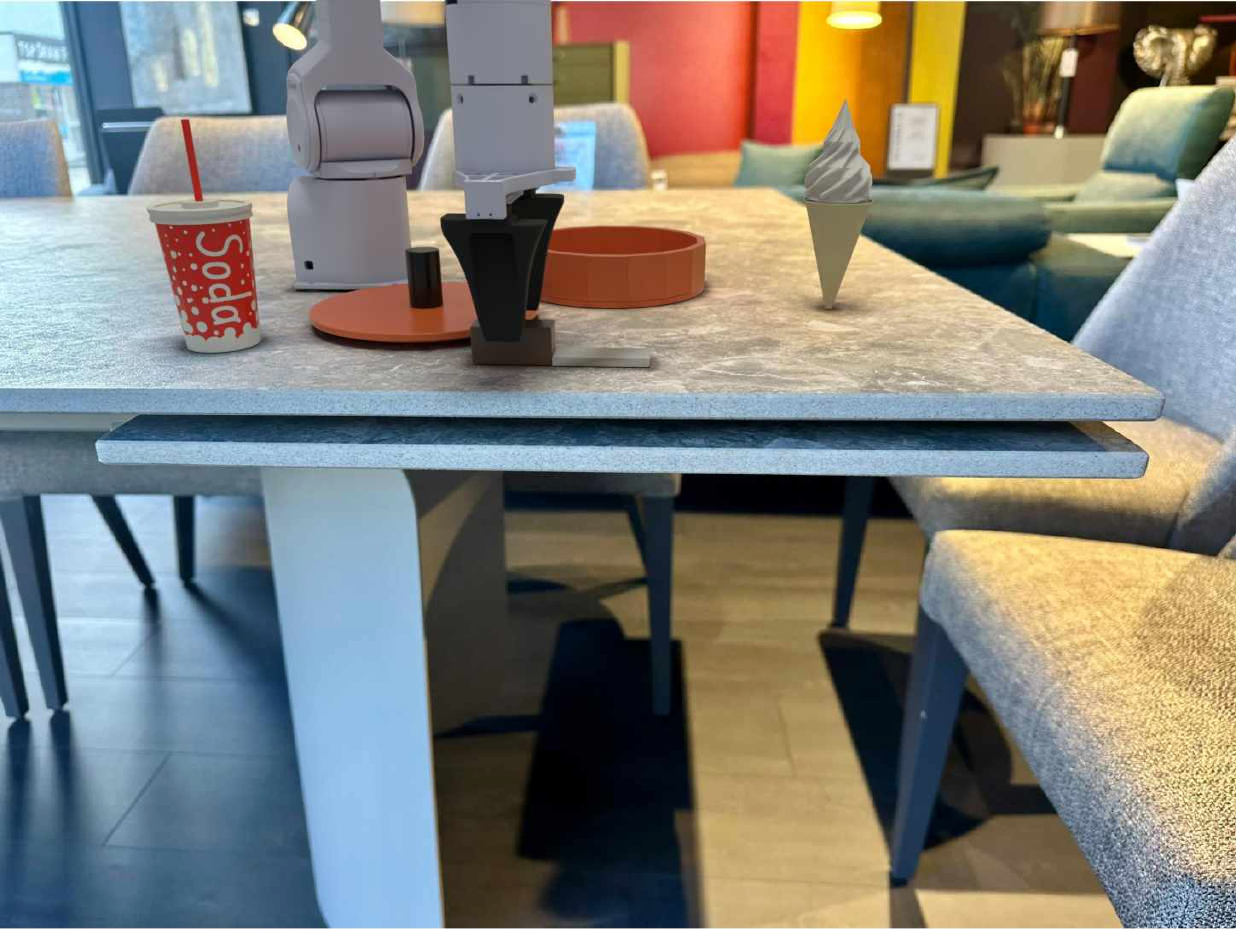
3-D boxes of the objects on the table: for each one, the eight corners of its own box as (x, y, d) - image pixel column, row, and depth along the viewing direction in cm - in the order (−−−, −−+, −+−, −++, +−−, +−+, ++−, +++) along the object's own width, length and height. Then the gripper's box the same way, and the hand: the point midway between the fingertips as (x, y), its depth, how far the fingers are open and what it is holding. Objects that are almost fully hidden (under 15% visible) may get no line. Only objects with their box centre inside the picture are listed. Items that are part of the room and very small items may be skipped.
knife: (471, 364, 56) (469, 326, 55) (478, 355, 58) (476, 318, 57) (649, 367, 55) (650, 329, 55) (650, 357, 58) (650, 320, 57)
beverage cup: (169, 359, 57) (121, 122, 51) (178, 336, 62) (135, 118, 57) (273, 350, 59) (237, 120, 53) (272, 328, 64) (240, 116, 59)
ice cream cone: (782, 304, 71) (797, 98, 65) (837, 299, 73) (856, 97, 67) (817, 318, 67) (836, 99, 61) (875, 313, 68) (899, 99, 62)
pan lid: (273, 349, 59) (262, 270, 57) (353, 294, 74) (345, 230, 72) (522, 352, 59) (519, 273, 57) (552, 296, 74) (550, 232, 72)
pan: (508, 307, 70) (505, 255, 69) (534, 268, 84) (533, 224, 83) (707, 309, 69) (709, 256, 68) (700, 270, 84) (701, 226, 82)
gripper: (559, 86, 44) (565, 357, 49) (584, 85, 57) (587, 298, 62) (415, 86, 44) (437, 356, 49) (473, 85, 57) (485, 297, 63)
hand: (513, 324), depth 56 cm, fingers open, 7 cm apart
